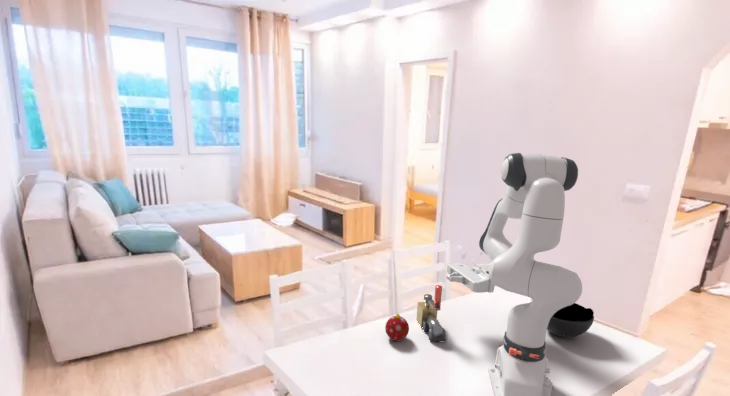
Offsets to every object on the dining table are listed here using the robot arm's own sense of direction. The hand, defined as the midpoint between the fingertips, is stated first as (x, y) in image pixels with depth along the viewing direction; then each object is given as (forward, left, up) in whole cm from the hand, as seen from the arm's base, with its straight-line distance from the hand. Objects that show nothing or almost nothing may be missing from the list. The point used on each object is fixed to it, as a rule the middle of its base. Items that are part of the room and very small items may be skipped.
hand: (448, 278), depth 140 cm
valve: (-1, +5, -22) cm, 23 cm away
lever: (0, +5, -12) cm, 13 cm away
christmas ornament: (-12, +15, -22) cm, 30 cm away
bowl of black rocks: (+18, -43, -22) cm, 52 cm away
